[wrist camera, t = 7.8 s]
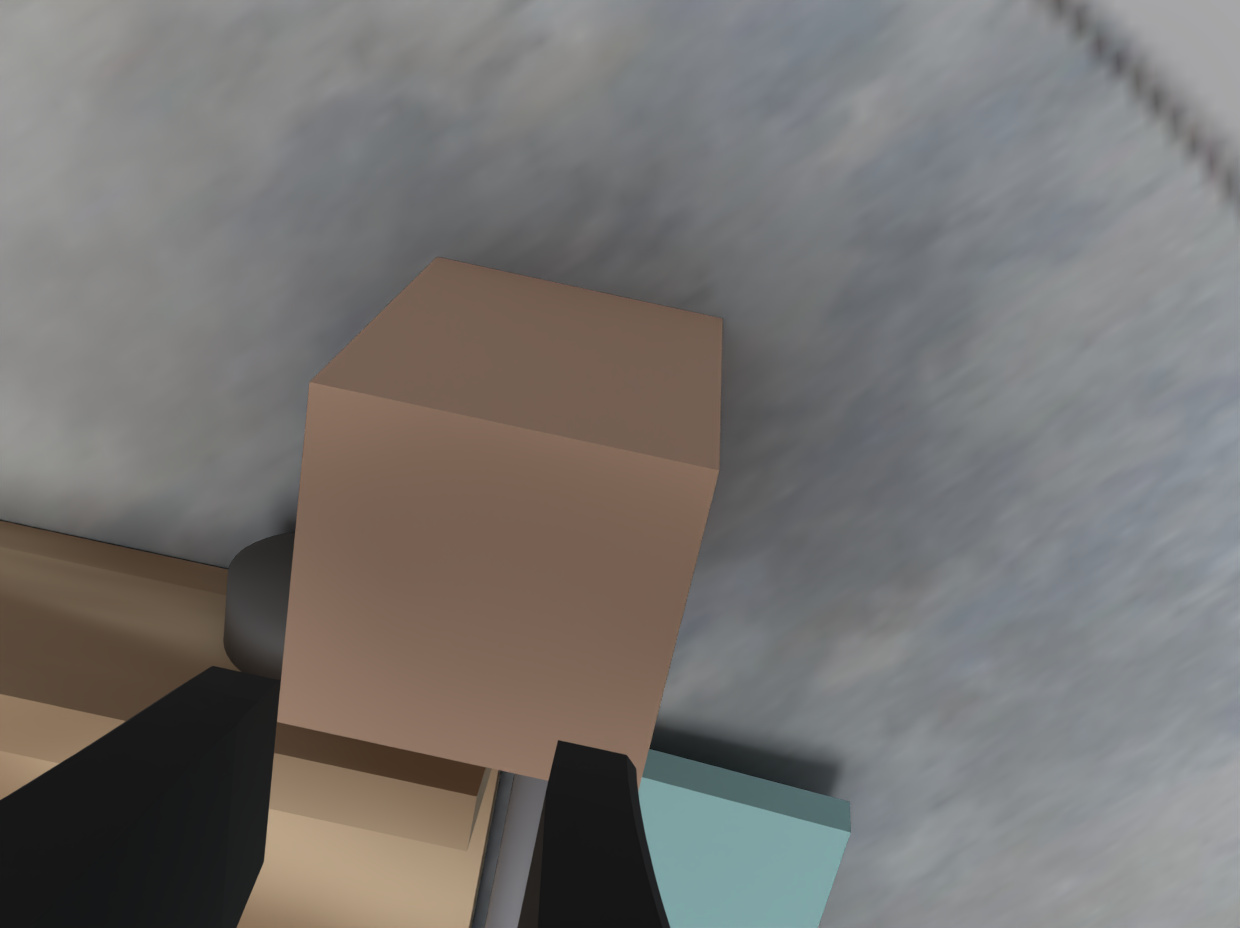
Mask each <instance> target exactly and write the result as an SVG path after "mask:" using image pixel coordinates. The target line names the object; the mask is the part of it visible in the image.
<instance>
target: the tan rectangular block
mask: <svg viewBox="0 0 1240 928" xmlns="http://www.w3.org/2000/svg"><path fill="white" fill-rule="evenodd" d="M722 328H723V319H722V318H718V317H713V316H709V315H704V314H699V313H695V312H690V311H685V310H681V309H676V308H672V307H667V306H662V305H658V304H653V303H648V302H644V301H639V300H634V299H630V298H625V297H621V296H616V295H611V294H607V293H602V292H597V291H593V290H588V289H584V288H579V287H574V286H570V285H565V284H560V283H556V282H551V281H547V280H542V279H537V278H533V277H528V276H523V275H519V274H514V273H510V272H505V271H500V270H496V269H491V268H486V267H482V266H477V265H473V264H468V263H463V262H459V261H454V260H449V259H445V258H440V257H436V258H435V259H434V260H433V261H432V262H431V263H430V264H429V265H428V266H427V267H426V268H425V269H424V270H423V271H422V272H421V273H420V274H419V275H418V276H417V277H416V278H415V279H414V280H413V281H412V282H411V283H410V284H409V285H408V286H407V287H406V288H405V289H404V290H403V291H402V292H401V293H400V294H399V295H397V296H396V297H395V298H394V299H393V300H392V301H391V302H390V303H389V304H388V305H387V306H386V307H385V308H384V309H383V310H382V311H381V312H380V313H379V314H378V315H377V316H376V317H375V318H374V319H373V320H372V321H371V322H370V323H369V324H368V325H367V326H366V327H365V328H364V329H363V330H362V331H361V332H360V333H359V334H358V335H357V336H356V337H355V338H354V339H353V340H352V341H351V342H350V343H349V344H348V345H347V346H346V347H345V348H344V349H343V350H342V351H341V352H340V353H339V354H337V355H336V356H335V357H334V358H333V359H332V360H331V361H330V362H329V363H328V364H327V365H326V366H325V367H324V368H323V369H322V370H321V371H320V372H319V373H318V374H317V375H316V376H315V377H314V378H313V379H312V380H311V381H310V383H309V393H308V404H307V414H306V425H305V435H304V445H303V456H302V466H301V477H300V487H299V498H298V508H297V519H296V529H295V539H294V550H293V560H292V571H291V581H290V592H289V602H288V613H287V623H286V633H285V644H284V654H283V665H282V675H281V686H280V696H279V707H278V717H277V722H280V723H284V724H289V725H293V726H298V727H303V728H307V729H312V730H316V731H321V732H326V733H330V734H335V735H340V736H344V737H349V738H353V739H358V740H363V741H367V742H372V743H376V744H381V745H386V746H390V747H395V748H399V749H404V750H409V751H413V752H418V753H423V754H427V755H432V756H436V757H441V758H446V759H450V760H455V761H459V762H464V763H469V764H473V765H478V766H482V767H487V768H492V769H496V770H501V771H506V772H510V773H515V774H519V775H524V776H529V777H533V778H538V779H542V780H547V781H548V780H549V776H550V772H551V767H552V763H553V759H554V755H555V750H556V746H557V742H558V740H560V741H565V742H570V743H574V744H579V745H584V746H588V747H593V748H598V749H602V750H607V751H611V752H616V753H621V754H625V755H627V756H628V757H629V759H630V760H631V761H632V763H633V764H634V766H635V767H636V770H637V786H638V791H639V787H640V783H641V779H642V775H643V771H644V767H645V763H646V759H647V755H648V751H649V747H650V743H651V739H652V735H653V731H654V727H655V723H656V719H657V715H658V711H659V708H660V704H661V700H662V696H663V692H664V688H665V684H666V680H667V676H668V672H669V668H670V664H671V660H672V656H673V652H674V648H675V644H676V640H677V636H678V632H679V628H680V624H681V620H682V617H683V613H684V609H685V605H686V601H687V597H688V593H689V589H690V585H691V581H692V577H693V573H694V569H695V565H696V561H697V557H698V553H699V549H700V545H701V541H702V537H703V533H704V529H705V526H706V522H707V518H708V514H709V510H710V506H711V502H712V498H713V494H714V490H715V486H716V482H717V478H718V474H719V466H720V420H721V374H722Z"/></svg>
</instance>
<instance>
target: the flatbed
mask: <svg viewBox="0 0 1240 928" xmlns="http://www.w3.org/2000/svg"><path fill="white" fill-rule="evenodd" d="M294 539H295V532H292V533H285V534H280V535H276V536H272V537H269V538H265V539H263V540H260V541H258V542H255V543H253V544H252V545H250V546H248V547H246V548H245V549H243V550H242V551H241V552H240V553H239V554H238V555H237V556H236V557H235V558H234V559H233V561H232V562H231V564H230V566H229V569H223V568H219V567H214V566H209V565H205V564H200V563H195V562H191V561H186V560H181V559H177V558H172V557H167V556H163V555H158V554H153V553H149V552H144V551H139V550H135V549H130V548H125V547H121V546H116V545H111V544H107V543H102V542H97V541H93V540H88V539H83V538H79V537H74V536H69V535H65V534H60V533H55V532H51V531H46V530H41V529H37V528H32V527H27V526H23V525H18V524H14V523H9V522H4V521H0V800H1V799H3V798H4V797H6V796H8V795H9V794H11V793H13V792H14V791H16V790H17V789H19V788H21V787H22V786H24V785H25V784H27V783H29V782H30V781H32V780H34V779H35V778H37V777H38V776H40V775H42V774H43V773H45V772H46V771H48V770H50V769H51V768H53V767H55V766H56V765H58V764H59V763H61V762H63V761H64V760H66V759H67V758H69V757H71V756H72V755H74V754H76V753H77V752H79V751H80V750H82V749H84V748H85V747H87V746H88V745H90V744H91V743H93V742H94V741H96V740H97V739H99V738H101V737H102V736H104V735H105V734H107V733H108V732H110V731H111V730H113V729H115V728H116V727H118V726H119V725H121V724H122V723H124V722H125V721H127V720H128V719H130V718H131V717H133V716H134V715H136V714H138V713H139V712H141V711H142V710H144V709H145V708H147V707H148V706H150V705H151V704H153V703H154V702H156V701H157V700H159V699H160V698H162V697H164V696H165V695H167V694H168V693H170V692H171V691H173V690H174V689H176V688H177V687H179V686H181V685H182V684H184V683H185V682H187V681H189V680H190V679H192V678H193V677H195V676H197V675H198V674H200V673H201V672H203V671H205V670H206V669H208V668H210V667H211V666H216V667H221V668H225V669H230V670H235V671H239V672H244V673H249V674H253V675H258V676H263V677H267V678H272V679H277V680H281V675H282V665H283V654H284V644H285V633H286V623H287V613H288V602H289V592H290V581H291V571H292V560H293V550H294ZM280 686H281V682H280ZM279 696H280V693H279ZM278 707H279V704H278ZM277 717H278V715H277ZM500 774H501V770H496V769H492V768H487V767H482V766H478V765H473V764H469V763H464V762H459V761H455V760H450V759H446V758H441V757H436V756H432V755H427V754H423V753H418V752H413V751H409V750H404V749H399V748H395V747H390V746H386V745H381V744H376V743H372V742H367V741H363V740H358V739H353V738H349V737H344V736H340V735H335V734H330V733H326V732H321V731H316V730H312V729H307V728H303V727H298V726H293V725H289V724H284V723H280V722H277V726H276V737H275V748H274V759H273V770H272V780H271V791H270V802H269V813H268V824H267V835H266V846H265V857H264V863H263V865H262V868H261V870H260V873H259V875H258V877H257V880H256V882H255V885H254V887H253V890H252V892H251V894H250V897H249V899H248V902H247V904H246V906H245V909H244V911H243V914H242V916H241V918H240V921H239V923H238V925H237V928H472V923H473V917H474V912H475V907H476V902H477V896H478V891H479V886H480V880H481V875H482V870H483V864H484V859H485V854H486V848H487V843H488V838H489V833H490V827H491V822H492V817H493V811H494V806H495V801H496V795H497V790H498V785H499V780H500Z"/></svg>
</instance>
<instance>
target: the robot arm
mask: <svg viewBox="0 0 1240 928" xmlns="http://www.w3.org/2000/svg"><path fill="white" fill-rule="evenodd" d="M280 682H281V680H277V679H272V678H267V677H263V676H258V675H253V674H249V673H244V672H239V671H235V670H230V669H225V668H221V667H216V666H211V667H210V668H208V669H206V670H205V671H203V672H201V673H200V674H198V675H197V676H195V677H193V678H192V679H190V680H189V681H187V682H185V683H184V684H182V685H181V686H179V687H177V688H176V689H174V690H173V691H171V692H170V693H168V694H167V695H165V696H164V697H162V698H160V699H159V700H157V701H156V702H154V703H153V704H151V705H150V706H148V707H147V708H145V709H144V710H142V711H141V712H139V713H138V714H136V715H134V716H133V717H131V718H130V719H128V720H127V721H125V722H124V723H122V724H121V725H119V726H118V727H116V728H115V729H113V730H111V731H110V732H108V733H107V734H105V735H104V736H102V737H101V738H99V739H97V740H96V741H94V742H93V743H91V744H90V745H88V746H87V747H85V748H84V749H82V750H80V751H79V752H77V753H76V754H74V755H72V756H71V757H69V758H67V759H66V760H64V761H63V762H61V763H59V764H58V765H56V766H55V767H53V768H51V769H50V770H48V771H46V772H45V773H43V774H42V775H40V776H38V777H37V778H35V779H34V780H32V781H30V782H29V783H27V784H25V785H24V786H22V787H21V788H19V789H17V790H16V791H14V792H13V793H11V794H9V795H8V796H6V797H4V798H3V799H1V800H0V928H237V925H238V923H239V921H240V918H241V916H242V914H243V911H244V909H245V906H246V904H247V902H248V899H249V897H250V894H251V892H252V890H253V887H254V885H255V882H256V880H257V877H258V875H259V873H260V870H261V868H262V865H263V863H264V857H265V846H266V835H267V824H268V813H269V802H270V791H271V780H272V770H273V759H274V748H275V737H276V726H277V715H278V704H279V693H280ZM517 928H670V925H669V922H668V918H667V915H666V912H665V909H664V906H663V902H662V899H661V895H660V892H659V888H658V884H657V881H656V877H655V873H654V869H653V865H652V860H651V856H650V852H649V848H648V843H647V839H646V835H645V829H644V824H643V819H642V814H641V808H640V802H639V794H638V786H637V770H636V767H635V766H634V764H633V763H632V761H631V760H630V759H629V757H628V756H627V755H625V754H621V753H616V752H611V751H607V750H602V749H598V748H593V747H588V746H584V745H579V744H574V743H570V742H565V741H560V740H558V742H557V746H556V750H555V755H554V759H553V763H552V767H551V772H550V776H549V780H548V784H547V789H546V793H545V798H544V803H543V808H542V812H541V817H540V822H539V827H538V831H537V836H536V841H535V846H534V851H533V855H532V860H531V865H530V870H529V874H528V879H527V884H526V889H525V894H524V898H523V903H522V908H521V913H520V917H519V922H518V927H517Z"/></svg>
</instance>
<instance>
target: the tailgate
mask: <svg viewBox="0 0 1240 928" xmlns="http://www.w3.org/2000/svg"><path fill="white" fill-rule="evenodd" d="M547 784H548V781H547V780H542V779H538V778H533V777H529V776H524V775H519V774H514V779H513V784H512V789H511V794H510V800H509V805H508V810H507V815H506V820H505V825H504V830H503V836H502V841H501V846H500V851H499V856H498V861H497V866H496V872H495V877H494V882H493V887H492V892H491V897H490V902H489V908H488V913H487V918H486V923H485V928H517V927H518V922H519V917H520V913H521V908H522V903H523V898H524V894H525V889H526V884H527V879H528V874H529V870H530V865H531V860H532V855H533V851H534V846H535V841H536V836H537V831H538V827H539V822H540V817H541V812H542V808H543V803H544V798H545V793H546V789H547ZM638 794H639V802H640V808H641V814H642V819H643V824H644V829H645V835H646V839H647V843H648V848H649V852H650V856H651V860H652V865H653V869H654V873H655V877H656V881H657V884H658V888H659V892H660V895H661V899H662V902H663V906H664V909H665V912H666V915H667V918H668V922H669V925H670V928H818V926H819V923H820V920H821V917H822V914H823V911H824V908H825V905H826V902H827V900H828V897H829V894H830V891H831V888H832V885H833V882H834V879H835V876H836V874H837V871H838V868H839V865H840V862H841V859H842V856H843V853H844V850H845V847H846V845H847V842H848V839H849V836H850V833H851V827H850V802H849V801H845V800H841V799H837V798H833V797H830V796H826V795H822V794H818V793H814V792H811V791H807V790H803V789H799V788H795V787H792V786H788V785H784V784H780V783H776V782H773V781H769V780H765V779H761V778H758V777H754V776H750V775H746V774H742V773H739V772H735V771H731V770H727V769H723V768H720V767H716V766H712V765H708V764H704V763H701V762H697V761H693V760H689V759H686V758H682V757H678V756H674V755H670V754H667V753H663V752H659V751H655V750H651V749H649V751H648V755H647V759H646V763H645V767H644V771H643V775H642V779H641V783H640V787H639V791H638Z"/></svg>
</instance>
